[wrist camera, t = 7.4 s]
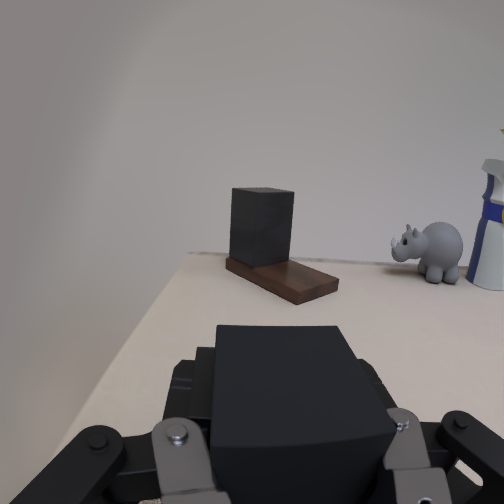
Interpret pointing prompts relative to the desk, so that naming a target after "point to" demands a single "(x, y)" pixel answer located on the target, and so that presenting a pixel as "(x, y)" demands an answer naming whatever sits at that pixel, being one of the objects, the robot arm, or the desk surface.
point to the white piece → (490, 232)
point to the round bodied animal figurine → (432, 251)
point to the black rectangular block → (293, 416)
